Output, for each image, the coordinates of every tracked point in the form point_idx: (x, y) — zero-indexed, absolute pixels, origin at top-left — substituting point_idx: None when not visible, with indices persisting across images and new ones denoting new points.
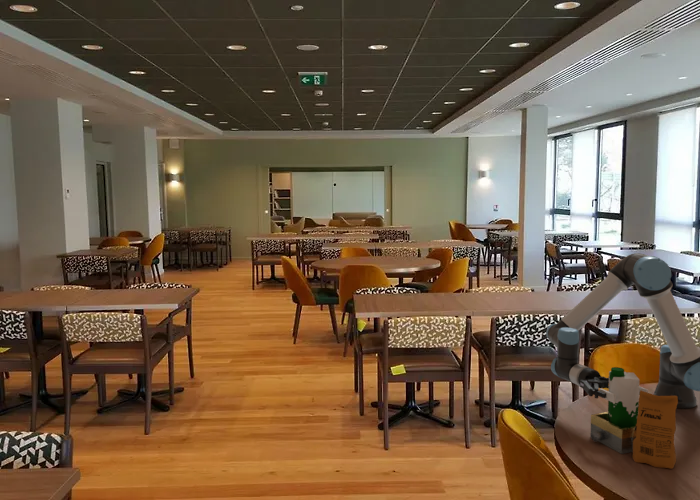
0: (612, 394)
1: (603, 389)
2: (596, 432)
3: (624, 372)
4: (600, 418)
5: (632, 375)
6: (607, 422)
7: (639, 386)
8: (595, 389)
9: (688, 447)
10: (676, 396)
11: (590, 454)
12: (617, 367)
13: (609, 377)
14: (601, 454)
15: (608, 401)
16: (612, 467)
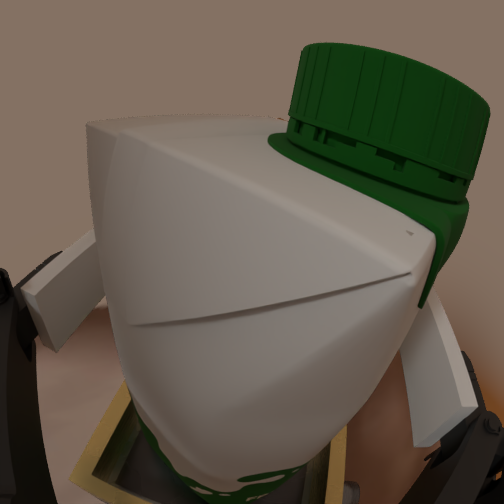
0: (436, 293)
1: (456, 378)
2: (349, 492)
3: (180, 126)
4: (333, 494)
5: (210, 119)
6: (344, 442)
7: (79, 242)
8: (497, 426)
9: (100, 316)
10: (282, 119)
11: (402, 451)
12: (348, 47)
13: (404, 328)
14: (373, 439)
15: (311, 459)
16: (395, 377)
